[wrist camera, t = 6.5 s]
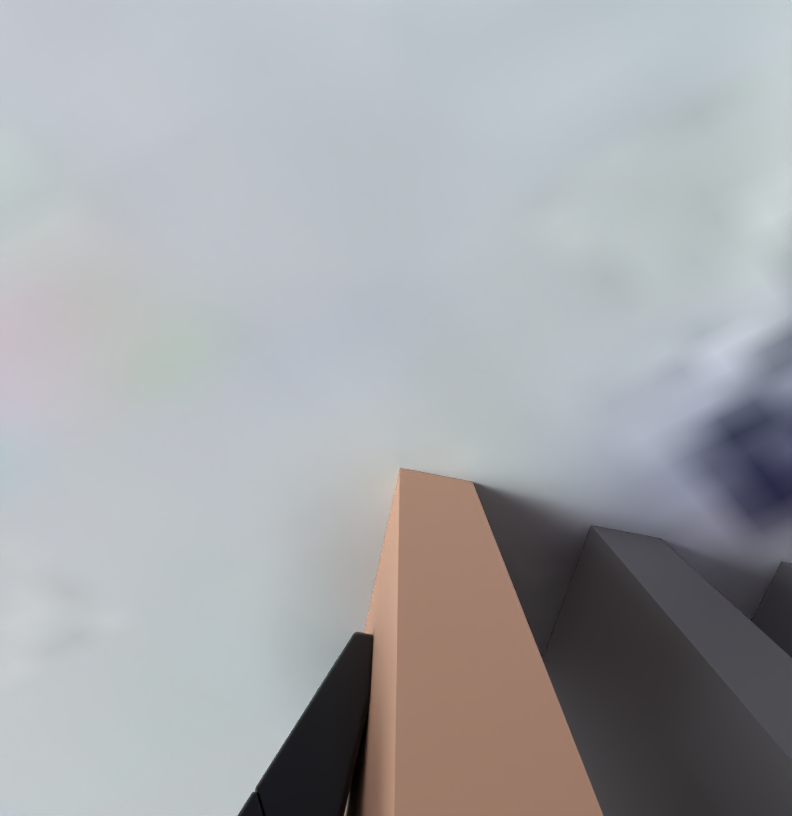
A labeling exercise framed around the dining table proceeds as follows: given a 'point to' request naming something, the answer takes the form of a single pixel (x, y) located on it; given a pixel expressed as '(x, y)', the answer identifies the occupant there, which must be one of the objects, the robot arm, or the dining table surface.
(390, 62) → the dining table surface
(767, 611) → the domino
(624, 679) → the domino
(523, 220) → the dining table surface
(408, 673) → the tan rectangular block
